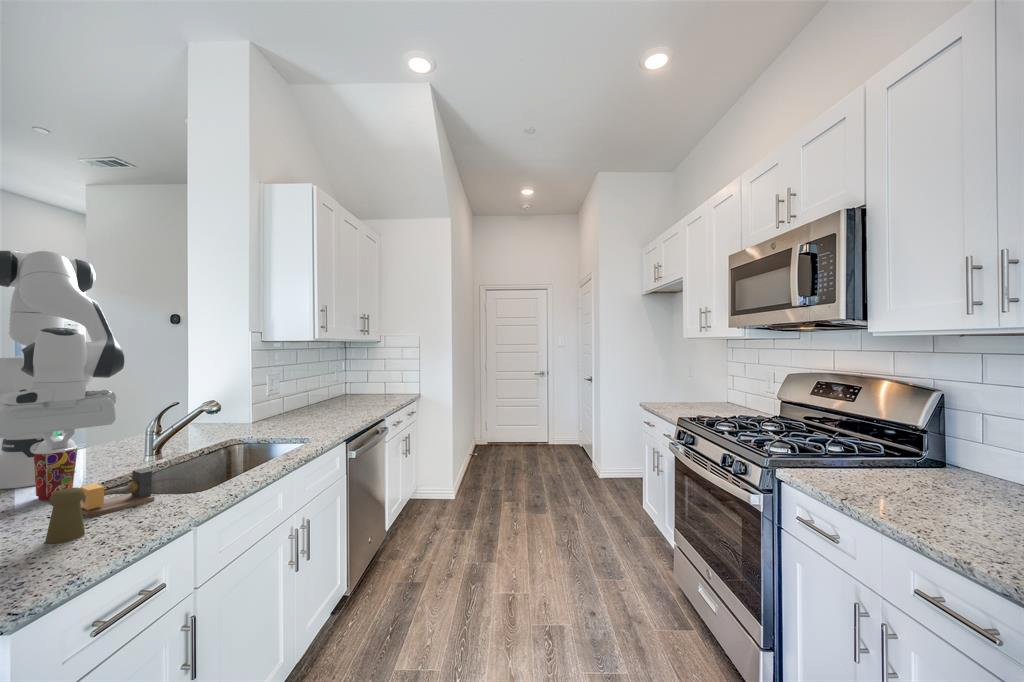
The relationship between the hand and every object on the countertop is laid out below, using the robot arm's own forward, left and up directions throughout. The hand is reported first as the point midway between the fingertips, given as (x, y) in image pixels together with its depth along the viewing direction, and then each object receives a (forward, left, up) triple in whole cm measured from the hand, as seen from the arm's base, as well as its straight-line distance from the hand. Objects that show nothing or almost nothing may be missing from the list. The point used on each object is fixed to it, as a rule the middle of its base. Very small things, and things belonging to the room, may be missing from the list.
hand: (57, 448), depth 97 cm
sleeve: (0, +7, -16) cm, 18 cm away
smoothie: (-22, +5, -18) cm, 29 cm away
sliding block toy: (0, +11, -18) cm, 21 cm away
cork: (+14, -2, -18) cm, 23 cm away
